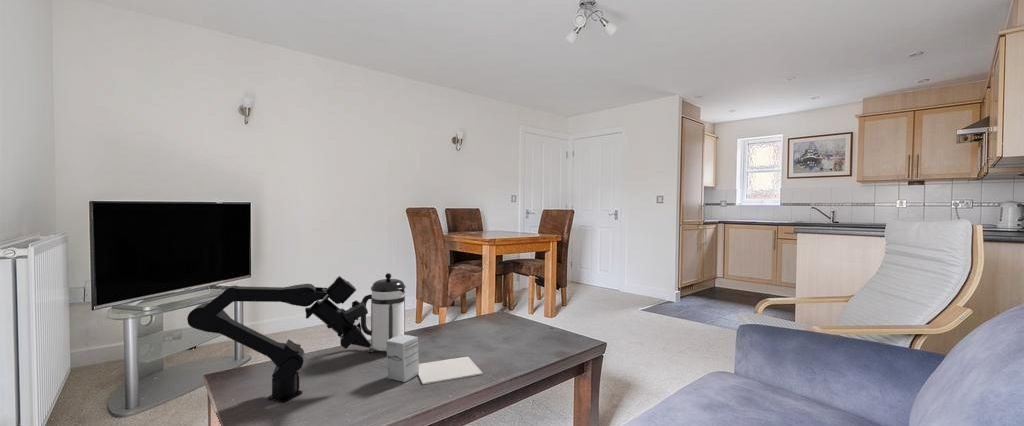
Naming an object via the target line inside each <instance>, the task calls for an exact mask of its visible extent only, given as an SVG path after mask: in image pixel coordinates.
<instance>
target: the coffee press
mask: <svg viewBox="0 0 1024 426" xmlns="http://www.w3.org/2000/svg"><path fill="white" fill-rule="evenodd" d="M370 290H371V291H370V292H371V294H367V295H365V296H364V297H363V298H362V300H361V302H363V303H364V304H365V306H366V307H367V303H368V301H369V300H371V302H370V303H371V304H370V306H371V307H370V309H371V310H370V311H371V312H370V317H371V318H370V320H371V321H370V322H371V323H370V329H371V330H370V329H368V327H367V314H366V315H363V316H361V317H360V325H361V331H363V332H362V333H363V334H364V335H367V336H370V344H371V346H370V347H369V348H367V352H368V354H372V353H373V352H374V351H378V352H380V351H381V352H387V344H386V341H387V340H389V339H391V338H394V337H396V336H398V335H400V334H403V335H406V330H405V329H406V324H405V323H406V317H405V316H406V313H405V312H406V296H407V295H406V294H407V292H406V285H405V283H404V282H403V281H402V280H400V279H397V278H392V274H391V273H388V272H387V273H386V274H385V278H384V279H383V278H382V279H379V280H376V281H374V282H373V283H372V286H370ZM371 348H373V349H372V350H371ZM370 350H371V351H370ZM369 352H371V353H369Z"/></svg>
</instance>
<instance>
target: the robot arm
mask: <svg viewBox="0 0 1024 426" xmlns="http://www.w3.org/2000/svg"><path fill="white" fill-rule="evenodd" d="M356 291H357V288H356V287H355V286H354V285H353V284H352V283H351V282H349V281H347V280H346V279H344V278H342V277H341V276H340V275H339V276H337V277H336V279H335V280H334V281H333V282H332V283H331V284H330V285H329V286H328V287H318V286H315V285H314V284H312V283H300V284H294V285H289V286H283V287H281V286H280V287H279V286H240V285H239V286H238V285H235V284H234V285H230V286H228V287H227V288H226V289H225V290H223V292H222V293H220V294H219V295H218V296H216V297H215V298H213V299H212V300H211V301H210V302H209V301H208V302H203V303H201V304H199V305H197V306H196V307H194V308H193V309H192V310H191V311H190V312H189V313H188V315H187V319H186V320H187V324H188V325H189V327H191V328H192V329H195V330H199V331H202V332H206V333H212V334H219V335H222V336H224V337H227V338H228V339H230V340H233V341H235V342H237V343H238V344H241V345H243V346H245V347H247V348H249V349H251V350H253V351H255V352H257V353H259V354H262V355H263V356H266V357H267V358H269V360H271V362H272V363H274V365H275V367H274V370H273V373H272V375H271V395H269V396H268V397H267V399H268V398H270V399H269V400H272V399H275V400H274V401H276V400H278V401H277V402H280V401H281V403H285V402H287V401H289V399H290V400H292V399H293V398H295V397H297V396H299V395H301V394H303V390H300V375H299V371H300V369H301V368H303V365H304V360H305V355H306V353H305V351H304V348H302V347H301V344H297V343H295V342H294V341H292V340H291V339H287V340H286V342H279V341H276V340H274V339H273V338H270V337H268V336H266V335H264V334H263V333H260V332H259V331H256V330H254V329H253V328H250V327H248V326H246V325H244V324H242V323H241V322H238V321H236V320H234V319H233V318H232V317H231V316H230V315H229V314H228V313H227V312H226V311H225V310H224V309H225V308H227V307H228V306H229V305H231V304H232V303H234V302H250V303H251V302H255V303H257V302H261V303H262V302H265V303H266V302H267V303H269V302H270V303H271V302H272V303H275V302H276V303H278V302H279V303H285V304H288V305H291V306H298V307H303V308H304V311H305V319H309V318H310V317H311V316H312V315H314V316H315V317H316V318H318V319H319V320H320V321H321V322H323V324H325V325H326V327H327V328H328V329H329V330H330V329H332V330H333V331H334V332H335V333H337V334H336V335H337V336H338V337H339V340H340V342H339V343H340V344H339V345H340V346H341V347H342V348H343V349H345V350H347V349H348V348H349V346H351V345H353V346H359V347H363V348H367V349H369V347H370V346H371V341H369V340H368V338H367V337H366V335H365V333H364V332H362V327H361V322H358V323H357V324H355V323H356V321H359V318H361V316H363V315H366V316H367V315H368V314H369V311H368V309H367V305H366V306H365V304H364V303H363V302H362V301H358V300H353V301H352V302H351V307H349V308H348V309H346V310H345V309H344V308H339V307H338V305H340V304H342V305H343V304H344V303H345V302H347V300H349V298H350V297H351V296H352V295H354V294H355V292H356ZM371 347H372V346H371Z"/></svg>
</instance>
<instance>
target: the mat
mask: <svg viewBox="0 0 1024 426" xmlns="http://www.w3.org/2000/svg"><path fill="white" fill-rule="evenodd" d="M483 374H484V373H483V372H482V370H481V369H480V368H479V367H478V366H477V365H476V364H475V362H473V360H472V359H471V358H470V357H469V356H462V357H457V358H450V359H449V358H448V359H442V360H436V361H429V362H423V363H419V374H418V375H417V377H418V379H419V380H420V382H421V384H422V385H428V384H429V385H430V384H434V383H435V384H436V383H441V382H445V381H451V380H458V379H464V378H470V377H475V376H476V377H477V376H481V375H483Z"/></svg>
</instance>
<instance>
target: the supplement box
mask: <svg viewBox="0 0 1024 426" xmlns="http://www.w3.org/2000/svg"><path fill="white" fill-rule="evenodd" d="M418 338H419V337H418V336H413V335H408V334H405V335H403V334H400V335H398V336H396V337H394V338H391V339H389V340H387V341H386V344H387V351H386V362H387V363H386V364H387V365H386V366H387V367H386V368H387V379H389V380H395V381H399V382H402V383H406V382H408V381H410V380H411V379H413V378H414V377H416V376H418V374H419V364H420V363H419V341H418V340H419V339H418Z"/></svg>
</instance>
